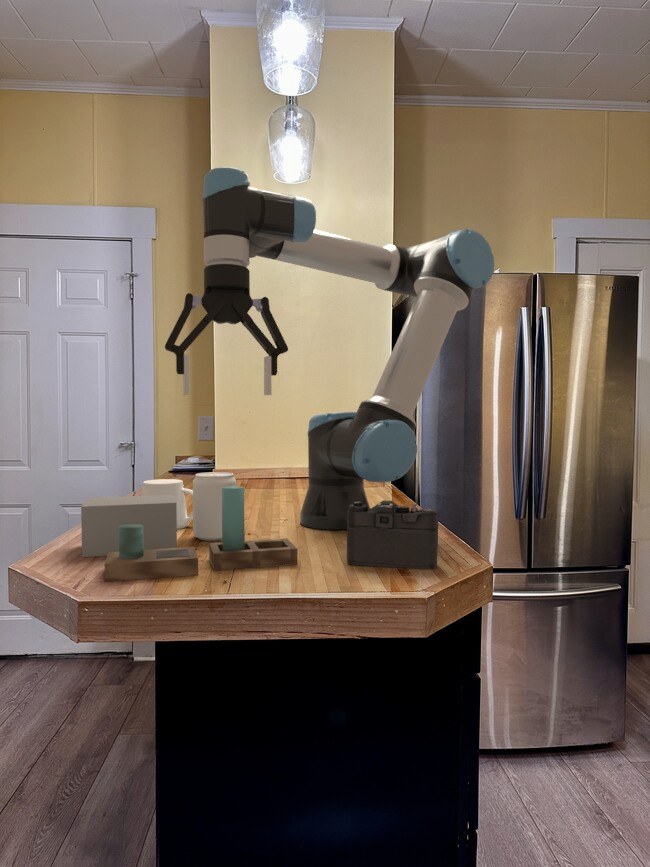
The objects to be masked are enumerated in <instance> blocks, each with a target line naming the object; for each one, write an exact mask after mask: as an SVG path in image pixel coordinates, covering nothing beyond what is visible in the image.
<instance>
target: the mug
mask: <svg viewBox="0 0 650 867" xmlns="http://www.w3.org/2000/svg"><path fill="white" fill-rule="evenodd" d="M185 494H188V495H190V496H191V497H192V498H193V489H189V488H184V481H183V480H182V479H175V478H174V479H173V478H171V479H170V478H169V479H168V478H167V479H166V478H164V479H163V478H161V479H158V478H157V479H147V480H144V481H143V482H142V490H141V496H151V495H175V499H176V509H177V530H179V529H180V530H181V529H184V528H186V527H187V526H188V525H189V521H192V520H193V510H192V512H191V514H190V515H189V516H188V511H187V502H186V497H185Z"/></svg>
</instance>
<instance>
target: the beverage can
mask: <svg viewBox="0 0 650 867" xmlns="http://www.w3.org/2000/svg"><path fill="white" fill-rule="evenodd" d="M194 476H195V477H194V479H193V480H192V490H193V497H192V511H193V519H192V533H193V534H192V535H193V536H194V538H198V539H199V540H201V541H208V542H209V541H210V542H211V541H213V542H216V541H222V487H228V486H237V479H236V478H235V476H234V473H233V472H227V471H226V472H225V471H221V472H220V471H213V472H212V471H211V472H210V471H209V472H199V473H196V474H195V475H194Z"/></svg>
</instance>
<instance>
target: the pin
mask: <svg viewBox="0 0 650 867" xmlns="http://www.w3.org/2000/svg"><path fill="white" fill-rule="evenodd" d="M245 528H246V527H245V487H244V486H238V485H236V486H228V487H222V540H221V542H222V551H235V550H245V541H246V540H245V538H246V537H245Z"/></svg>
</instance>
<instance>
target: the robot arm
mask: <svg viewBox="0 0 650 867" xmlns="http://www.w3.org/2000/svg"><path fill="white" fill-rule="evenodd" d="M203 178H204V179H203V187H202V188H203V190H202V200H201V201H202V211H203V216H202V217H203V264H204V265H206V266H205V267H204V268H203V295H202V296H198V295H193V294H192V293H186V294H185V297H184V305H183V308H182V311H181V313H180V315H179V316H178V318H177V320H176V323H175V325H174V327H173V329H172V330H171V332H170V334H169V336H168V339H167V340H166V343H165V345H164V349H165V351H167V352H170V353H173V354H174V355H175V362H176V363H175V364H176V366H175V368H176V370H175V372H176V373H177V375H182V376H183V385H182V387H183V395H184V396H190V356H189V354H185V352H186V351H187V349H188V348H189V347H190V346H191V345H192V344H193V343H194V341H196V339H197V338H198V337H199V336H200V335H201V334H202V333H203V331H204V330H205V329H206V328H207V327H208V326H209V324H210V323H211V322H212V321H213V322H214V323H216V324H218V325H219V324H220V325H222V324H230V325H237V324H239V323H241V325H242V326H243V327H245V329H246V330H247V331H248V332H249V333H250V334H251V335H252V337H253V339H255V341H256V342H257V343H258V344H259V345H260V346H261V348H262V349H263V350H264V352H266V354H267V356H264V357H263V385H264V386H263V389H264V391H263V394H264V395H263V396H272V376H277V374H278V356H280V355H282V354H285V353H287V352H289V347H288V344H287V343H286V340H285V338H284V336H283V335H282V334H283V333H282V332H281V331H280V328H279V326H278V324H277V321H276V320H275V318H274V316H273V314H272V312H271V308H270V300H269V298H268V297H267V296H263V297H262V298H253V299H252V297H251V293H250V292H251V291H250V290H251V289H250V285H251V282H250V280H251V279H250V278H251V277H250V272H251V271H250V269H249V268H248V266H250V264H251V263H250V262H251V261H250V259H253V258H256V257H260V258H266V259H269V260H270V259H271V260H274V261H279V262H283V263H287V264H291V265H295V266H300V267H304V268H308V269H313V270H317V271H321V272H324V273H325V272H326V273H330V274H334V275H339V276H343V277H347V278H350V279H351V278H352V279H356V280H360V281H364V282H369V283H373V284H374V285H375V287H376V288H377V289H379V290H381V291H387V292H390V293H395V294H398V295H403V296H407V297H408V296H409V297H413V298H414V297H415V300H414V301H413V304H412V305H411V308H410V311H409V312H408V315H407V318H406V320H405V322H404V324H403V326H402V329H401V330H400V333H399V336H398V338H397V340H396V343H395V344H394V347H393V350H392V351H391V354H390V356H389V358H388V360H387V363H386V365H385V368H384V369H383V372H382V373H381V376H380V379H379V381H378V383H377V384H376V387H375V390H374V392H373V393H372V396H371V397H369V398H367V399H365V400H362V401H361V402H360V404H359V406H358V408H357V411H339V412H331V413H329V412H328V413H326V412H325V413H321V414H316V415H313V416H312V417H311V418H310V419H309V421H308V430H307V438H308V439H307V441H308V442H307V446H308V449H307V450H308V451H307V453H308V454H307V456H308V458H307V459H308V463H307V464H308V471H307V472H308V488H307V491H306V494H305V496H304V500H303V503H302V507H301V509H300V514H299V515H300V516H299V517H300V518H299V522H300V523H299V524H300V525H302V526H305V527H306V528H307V527H308V528H312V529H319V530H320V529H321V530H347V512H348V510H349V505H352V504H353V502H358V501H359V502H363V505H367V506H368V509H370V508H371V507H370V503H369V501H368V496H367V494H366V490H365V485H364V480H365V481H367V482H371V483H372V482H373V483H389V482H393V481H396V480H399V479H400V478H402V477H403V476H405V475H406V474H407V473H408V472H409V470H410V469H411V468H412V466H413V465H414V462H415V460H416V457H417V453H418V444H416V441H417V437H416V436H417V435H416V434H415V429H416V427H417V422H416V421H415V418H414V415H413V414H414V412H415V410H416V407H417V405H418V403H419V402H420V398H421V396H422V394H423V391H424V389H425V386H426V384H427V381H428V379H429V378H430V375H431V372H432V370H433V369H434V365H435V364H436V363H435V362H437V361H436V360H437V358H438V356H439V354H440V352H441V350H442V347H443V344H444V343H445V340H446V337H447V336H448V333H449V330H450V328H451V326H452V324H453V321H454V319H455V316H456V314H457V312H459V311H463V310H465V309H466V308H468V305H469V303H470V301H471V298H472V296H473V294H474V292H475V290H476V289H480V288H483V287H485V285H487V284H488V283H489V282H490V281H491V280H492V278H493V275H494V272H495V257H494V255H493V253H492V252H493V251H492V247H491V246H490V243H489V241H487V239H486V238H485V237H484V236H483V235H482V234H481V233H480V232H478V231H477V230H474V229H469V228H467V229H466V228H465V229H461V230H453V231H451V232H450V233H448V234H446V235H443V236H438V237H437V238H434V239H431V240H427V241H426V242H423V243H419V244H416V245H411V246H410V245H409V246H398V245H394V244H387V245H385V246H383V247H382V246H380V245H379V246H378V245H375V244H371V243H367V242H364V241H360V240H355V239H352V238H348V237H345V236H342V235H337V234H333V233H329V232H326V231H322V230H318V229H316V224H317V213H316V212H317V211H316V207H315V205H314V203H313V202H312V201H311V199H308V198H305V197H300V196H296V195H295V194H292V195H291V194H286V193H285V194H284V193H280V192H275V191H269V190H268V191H267V190H262V189H259V188H255V187H251V182H250V177H249V175H248V173H247V172H246V171H244V170H241V169H239V168H237V167H231V166H219V167H214V168H212V169H211V168H210V169H209V170H208V172H206V173H205V175H204V177H203ZM198 305H201V306H202V307H203V309H204V311H205V312H206V313H207V314H205V315H204V316H203V318H202V319H201V320H200V321H199V323H198V324H197V325H196V326H195V327H194V328H193V329H192V330H191V332H190V333H189V334H188V335H187V336H186V337H185V338H184V340H183V341H182V342H181V343H180V344H179V345H177V344H176V341H177V340H178V338H179V335H180V334H181V332H182V330H183V328H184V326H185V324H186V322H187V320H188V318H189V316H190V313H191V311H192V310H195V309H197V307H198ZM252 307H254V308H255V309H256V311H257V312H259V313H260V315H261V319H262V320H263V322H264V324H265V326H266V328H267V330H268V332H269V334H270V336H271V338H272V341H273V343H274V345H273V343H272V342H271V341H270V340H269V339H268V337H267V336H266V335H265V334H264V332H263V331H262V330H261V329H260V328H259V326H258V325H257V324H256V322H255V321H254V319H253V318H252V317H251V315H250V314H249V311H250V310H251V308H252Z"/></svg>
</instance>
